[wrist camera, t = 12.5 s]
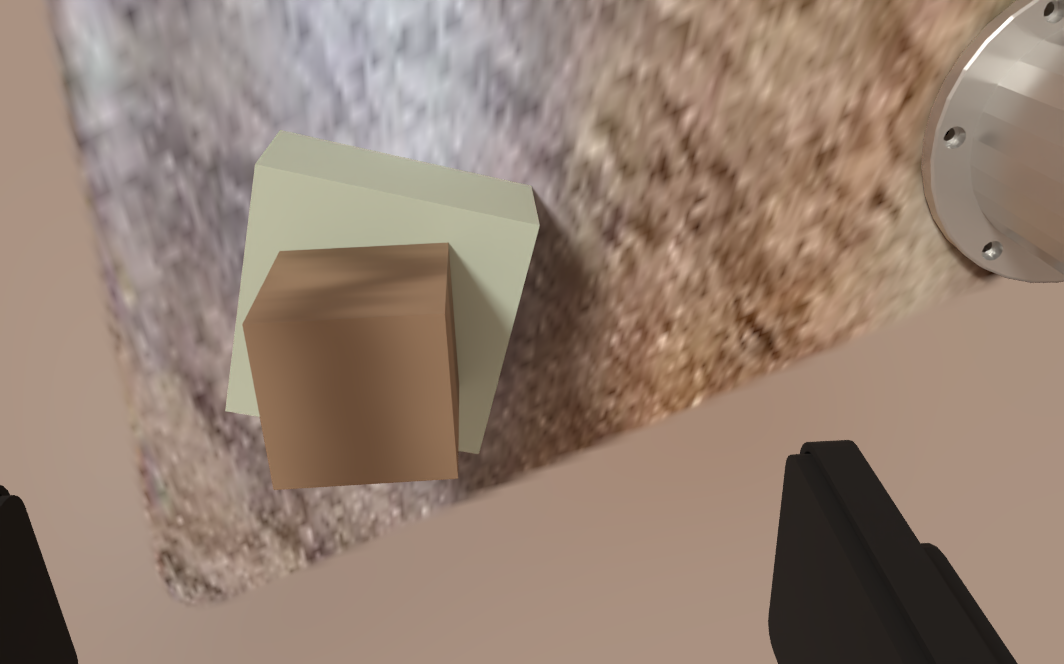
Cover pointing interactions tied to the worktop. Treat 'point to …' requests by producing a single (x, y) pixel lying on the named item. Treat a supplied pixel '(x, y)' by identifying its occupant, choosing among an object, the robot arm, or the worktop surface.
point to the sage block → (395, 219)
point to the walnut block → (356, 366)
